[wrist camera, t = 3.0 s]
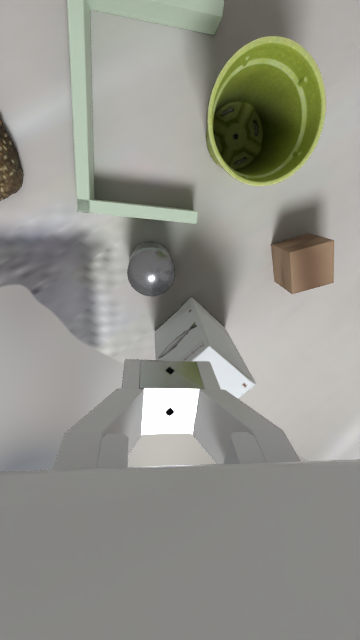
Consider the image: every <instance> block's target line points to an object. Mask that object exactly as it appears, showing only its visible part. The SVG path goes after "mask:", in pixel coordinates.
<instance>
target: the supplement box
mask: <svg viewBox="0 0 360 640" xmlns="http://www.w3.org/2000/svg"><path fill="white" fill-rule="evenodd" d="M155 353H156V360H160V361H209V362H210V363H211V365H212V368H213V370H214V373H215V375H216V378H217V381H218V383H219V386H220V388H221V390H226V391H228V392H229V393H231V394H232V395H233V396H235V397H236V398H240V397H241V396H242V395H243V394H245V393H246V392H247V391H248V390H250V389H251V388H252V387H254V386H255V385H256V383H255V381H254V379H253V377H252V375H251V374H250V372H249V370H248V368H247V366H246V365H245V363H244V361H243V359H242V357H241V356H240V354H239V352H238V350H237V348H236V347H235V345H234V343H233V341H232V339H231V338H230V336H229V334H228V332H227V330H226V329H225V328H224V327H223V326H222V325H221V324H220V323H219V322H218V321H217V320H216V319H215V318H214V317H213V316H212V315H210V314H209V313H208V312H207V311H206V310H205V309H204V308H203V307H202V306H201V305H200V304H199V303H198V302H197V301H196V300H194V299H193V298H192V297H190V298H189V299H188V300H187V302H186V303H185V304H184V305H183V306H182V307H181V308H180V309H179V310H178V311H177V312H176V313H175V314H174V315H173V316H172V317H171V318H169V319H168V320H167V321H166V322H165V323H164V324H163V325H162V326H161V327H160V328H159V329H157V330H156V331H155Z"/></svg>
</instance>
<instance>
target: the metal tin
mask: <svg viewBox="0 0 360 640" xmlns="http://www.w3.org/2000/svg"><path fill="white" fill-rule="evenodd" d="M127 273H128V279H129V282H130V284H131V286H132V287H133V288H134V289H135V290H136V291H137V292H139V293H141V294H143V295H146V296H157V295H160V294H162V293H164V292H166V291H167V290H168V289H169V288H170V287H171V285H172V283H173V281H174V277H175V270H174V266H173V263H172V260H171V257H170V255H169V253H168V251H167V250H166V249H165V247H163V246H162V245H160V244H158V243H155V242H145V243H142V244H140V245H138V246H137V247H136V248H135V249H134V250H133V252H132V254H131V258H130V262H129V266H128V272H127Z"/></svg>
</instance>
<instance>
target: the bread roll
mask: <svg viewBox="0 0 360 640" xmlns="http://www.w3.org/2000/svg"><path fill="white" fill-rule="evenodd" d="M22 182H23V172H22V170H21V167H20V163H19V159H18V154H17V151H16V149H15V148H14V146H13V144H12V143H11V138H10V137H9V136H8V135H7V133H6V131H5V129H4V127H3V124H2V121H1V119H0V201H1V200H3V199H5V198H8V197H9V196H10V195H11V194H14V193H16V192H17V191H18V190H19V189H20V188H21V187H22Z"/></svg>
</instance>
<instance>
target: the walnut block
mask: <svg viewBox="0 0 360 640" xmlns="http://www.w3.org/2000/svg"><path fill="white" fill-rule="evenodd" d="M271 249H272V260H273V271H274V281H275V282H276V283H277V284H279V285H280V286H282V287H283V288H284V289H286V290H287V291H289V292H290V293H291V294H294V293H298V292H302V291H305V290H309V289H313V288H316V287H320V286H324V285H327V284H331V283H334V240H331V239H327V238H323V237H320V236H316V235H312V234H307V235H303V236H300V237H296V238H293V239H289V240H285V241H282V242H278V243H274V244H271Z"/></svg>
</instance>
